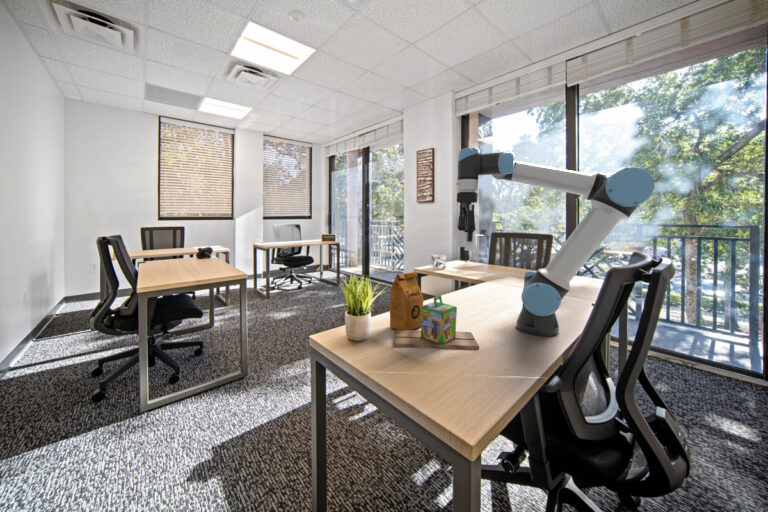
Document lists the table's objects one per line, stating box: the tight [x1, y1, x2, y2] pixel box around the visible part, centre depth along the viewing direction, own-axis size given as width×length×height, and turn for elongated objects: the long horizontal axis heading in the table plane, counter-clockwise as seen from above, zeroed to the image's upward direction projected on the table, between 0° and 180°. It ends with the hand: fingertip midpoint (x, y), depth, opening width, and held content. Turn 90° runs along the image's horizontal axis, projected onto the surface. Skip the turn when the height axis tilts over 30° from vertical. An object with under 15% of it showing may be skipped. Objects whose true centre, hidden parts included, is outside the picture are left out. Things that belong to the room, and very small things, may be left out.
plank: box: [394, 329, 476, 340], centre depth 114 cm, size 28×6×1 cm, turn 87°
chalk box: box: [420, 295, 458, 345], centre depth 110 cm, size 9×9×15 cm
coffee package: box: [389, 271, 424, 330], centre depth 123 cm, size 10×12×22 cm
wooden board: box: [393, 337, 480, 351], centre depth 112 cm, size 28×12×2 cm, turn 87°
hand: (464, 248), depth 121 cm, fingers open, 13 cm apart
